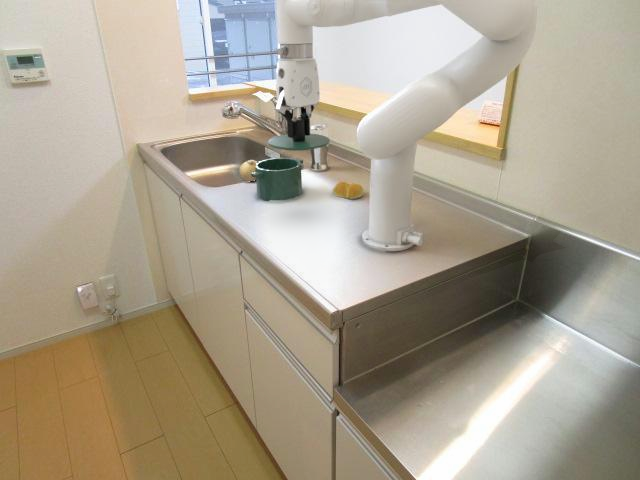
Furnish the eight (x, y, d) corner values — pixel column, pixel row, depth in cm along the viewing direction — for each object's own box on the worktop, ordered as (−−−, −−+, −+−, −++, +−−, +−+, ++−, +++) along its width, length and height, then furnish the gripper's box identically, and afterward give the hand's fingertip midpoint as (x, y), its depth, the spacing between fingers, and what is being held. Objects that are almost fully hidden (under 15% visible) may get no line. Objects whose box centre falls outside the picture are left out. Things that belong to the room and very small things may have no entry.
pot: (317, 190, 140) (316, 160, 136) (272, 208, 128) (269, 176, 124) (286, 181, 149) (285, 153, 145) (241, 197, 136) (238, 167, 132)
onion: (235, 180, 152) (232, 159, 149) (253, 174, 157) (251, 154, 154) (250, 184, 147) (248, 163, 144) (268, 178, 152) (267, 158, 149)
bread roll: (360, 201, 131) (360, 188, 130) (330, 198, 134) (330, 186, 132) (365, 191, 138) (366, 179, 137) (337, 189, 141) (337, 177, 139)
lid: (341, 143, 108) (342, 117, 106) (300, 156, 99) (299, 128, 96) (298, 134, 117) (297, 110, 114) (255, 146, 107) (253, 120, 105)
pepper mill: (332, 167, 162) (332, 125, 155) (322, 172, 157) (321, 129, 150) (316, 165, 165) (315, 123, 159) (306, 170, 160) (304, 127, 154)
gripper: (281, 55, 91) (285, 145, 99) (332, 51, 102) (333, 132, 110) (256, 54, 96) (262, 140, 104) (308, 50, 107) (310, 128, 115)
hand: (298, 135), depth 107 cm, fingers closed on lid, 3 cm apart
